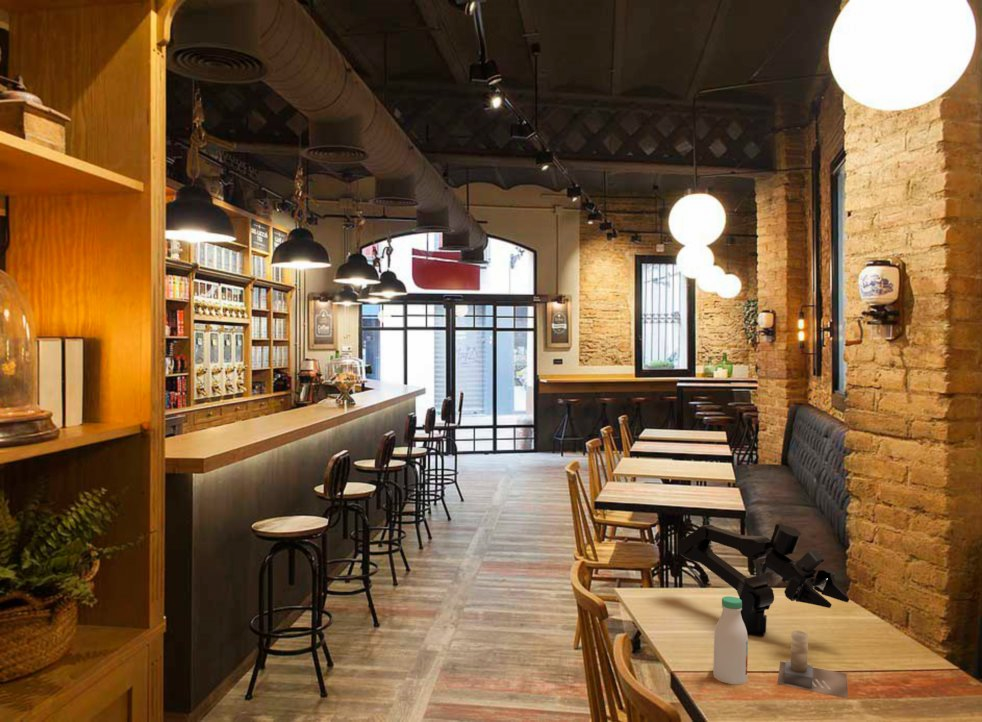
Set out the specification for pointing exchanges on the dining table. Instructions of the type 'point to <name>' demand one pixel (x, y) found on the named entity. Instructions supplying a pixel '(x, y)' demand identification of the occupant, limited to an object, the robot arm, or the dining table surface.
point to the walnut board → (821, 682)
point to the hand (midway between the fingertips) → (839, 603)
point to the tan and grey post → (799, 662)
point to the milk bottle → (730, 644)
